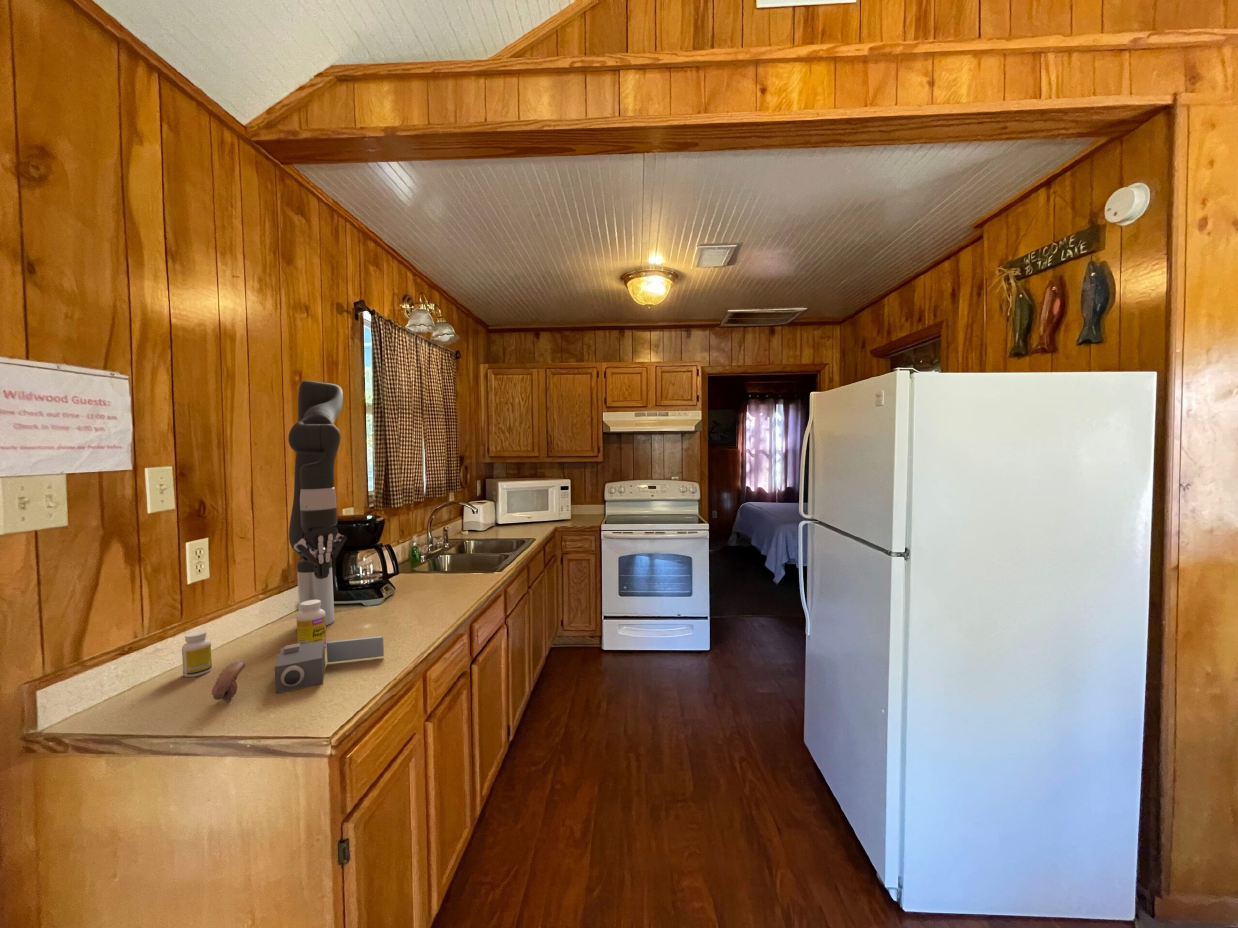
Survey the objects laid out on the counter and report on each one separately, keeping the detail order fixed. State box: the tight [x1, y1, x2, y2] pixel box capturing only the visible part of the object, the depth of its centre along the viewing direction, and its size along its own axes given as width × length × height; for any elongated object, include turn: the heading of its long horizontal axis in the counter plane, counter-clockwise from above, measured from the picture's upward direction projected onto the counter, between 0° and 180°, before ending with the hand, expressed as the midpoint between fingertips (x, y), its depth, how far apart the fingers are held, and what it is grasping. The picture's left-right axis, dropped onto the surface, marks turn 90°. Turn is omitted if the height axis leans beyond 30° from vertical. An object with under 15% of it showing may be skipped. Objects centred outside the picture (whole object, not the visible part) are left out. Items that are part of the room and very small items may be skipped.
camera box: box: [274, 641, 326, 694], centre depth 117 cm, size 14×9×7 cm, turn 28°
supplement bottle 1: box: [181, 630, 213, 678], centre depth 122 cm, size 5×5×10 cm
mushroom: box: [211, 660, 246, 704], centre depth 108 cm, size 8×6×8 cm
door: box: [326, 635, 385, 664], centre depth 127 cm, size 13×1×5 cm, turn 103°
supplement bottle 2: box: [296, 600, 327, 647], centre depth 135 cm, size 7×7×13 cm
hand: (322, 577), depth 121 cm, fingers closed
